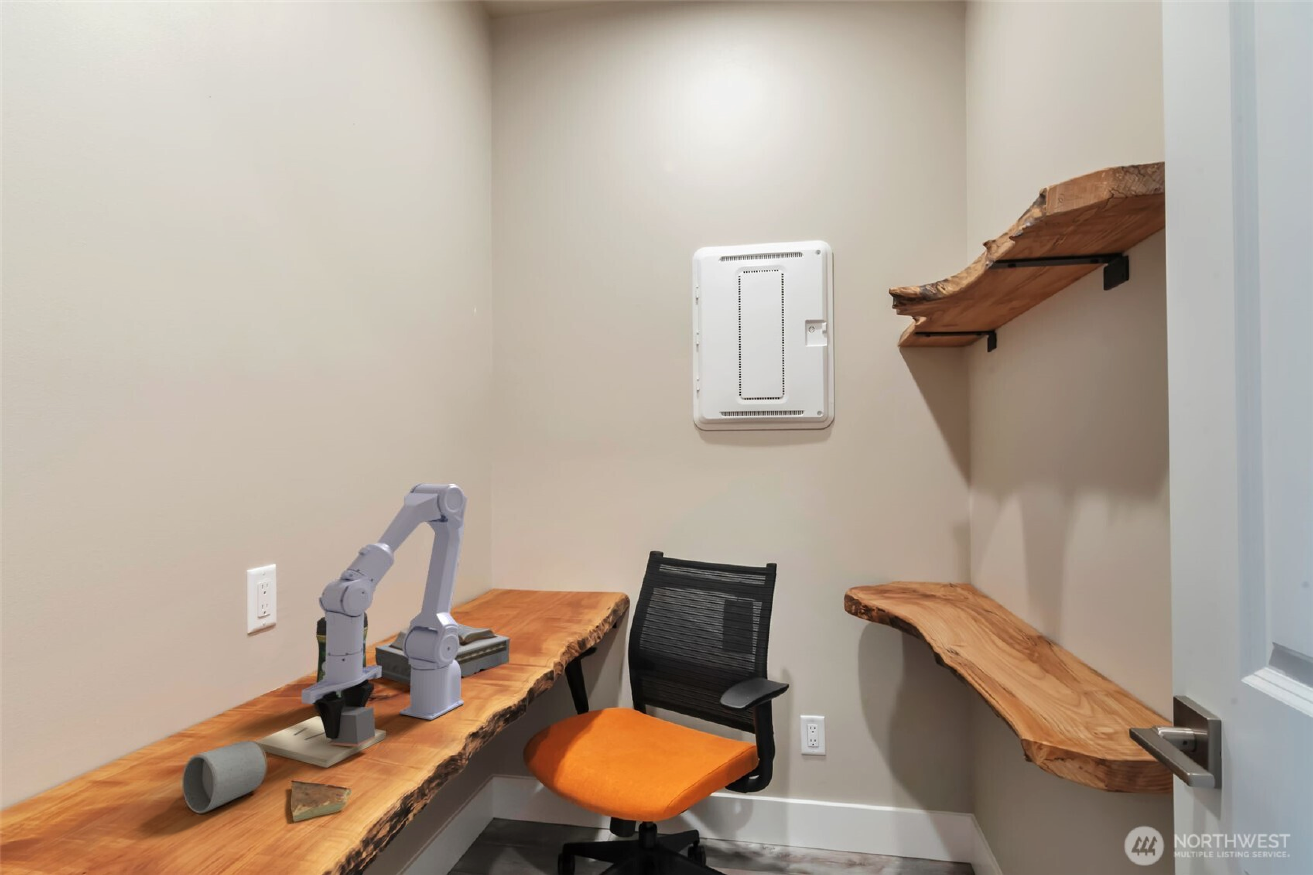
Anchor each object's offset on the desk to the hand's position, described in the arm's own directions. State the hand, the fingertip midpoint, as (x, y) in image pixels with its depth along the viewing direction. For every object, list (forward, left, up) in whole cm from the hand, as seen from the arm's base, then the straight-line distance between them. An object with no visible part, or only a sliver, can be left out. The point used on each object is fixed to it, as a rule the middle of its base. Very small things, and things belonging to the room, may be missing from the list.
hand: (342, 732), depth 108 cm
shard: (+15, +11, -3) cm, 19 cm away
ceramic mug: (+19, -3, -3) cm, 19 cm away
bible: (-41, -14, -3) cm, 44 cm away
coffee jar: (-14, -16, -3) cm, 22 cm away
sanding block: (0, +3, -1) cm, 3 cm away
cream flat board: (0, -5, -3) cm, 6 cm away
